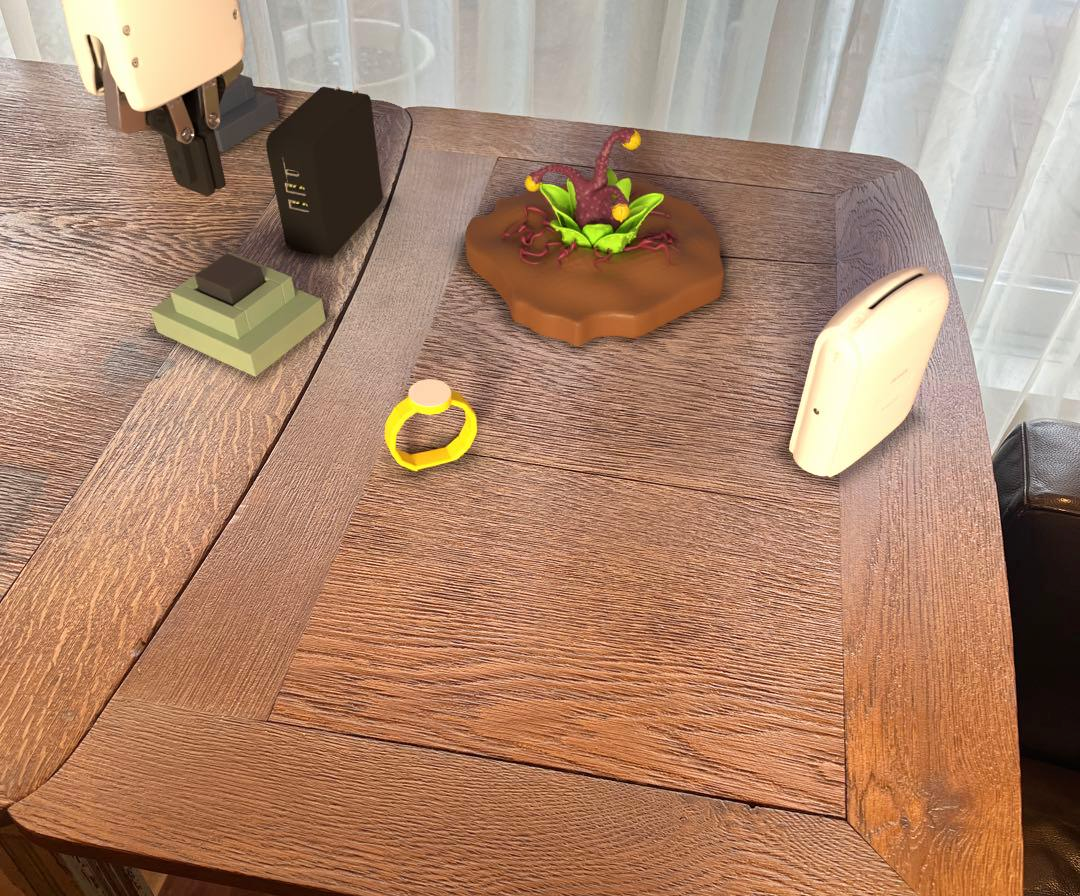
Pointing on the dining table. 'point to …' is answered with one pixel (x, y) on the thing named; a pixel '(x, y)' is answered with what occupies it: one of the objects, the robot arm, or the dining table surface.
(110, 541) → the dining table surface
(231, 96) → the grey orange stepped button
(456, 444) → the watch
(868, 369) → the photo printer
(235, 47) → the robot arm
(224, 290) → the key
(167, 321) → the green stepped button
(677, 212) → the plant
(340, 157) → the electronic device
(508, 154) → the dining table surface
